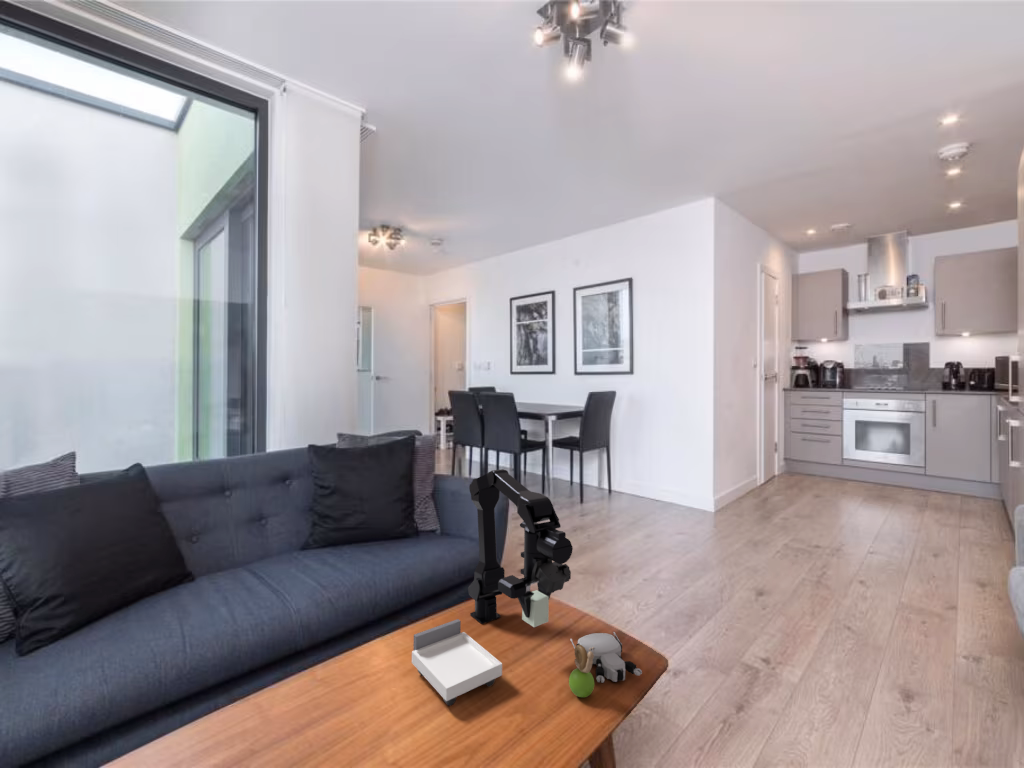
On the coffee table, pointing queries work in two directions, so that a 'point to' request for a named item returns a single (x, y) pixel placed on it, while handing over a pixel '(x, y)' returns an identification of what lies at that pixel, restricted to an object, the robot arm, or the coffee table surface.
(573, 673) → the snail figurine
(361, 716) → the coffee table surface
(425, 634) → the tray
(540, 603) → the part block
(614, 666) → the robot toy
